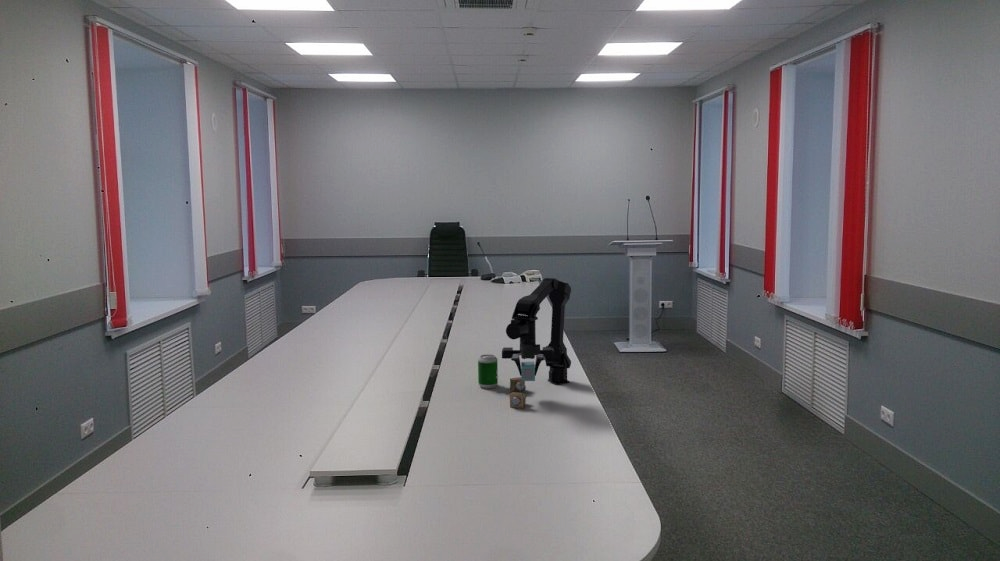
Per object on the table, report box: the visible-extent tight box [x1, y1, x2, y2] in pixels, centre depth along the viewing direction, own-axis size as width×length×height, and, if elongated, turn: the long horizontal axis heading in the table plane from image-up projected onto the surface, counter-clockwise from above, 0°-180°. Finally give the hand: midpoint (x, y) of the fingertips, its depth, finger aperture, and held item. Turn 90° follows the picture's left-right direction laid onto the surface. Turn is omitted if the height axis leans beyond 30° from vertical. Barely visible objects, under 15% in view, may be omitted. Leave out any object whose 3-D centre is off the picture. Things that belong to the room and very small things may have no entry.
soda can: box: [477, 354, 499, 389], centre depth 252 cm, size 8×8×12 cm
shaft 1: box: [509, 376, 527, 393], centre depth 245 cm, size 7×5×5 cm
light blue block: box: [520, 361, 536, 382], centre depth 236 cm, size 6×5×6 cm
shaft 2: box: [509, 392, 527, 410], centre depth 229 cm, size 7×5×5 cm
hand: (528, 375), depth 236 cm, fingers closed on light blue block, 5 cm apart
